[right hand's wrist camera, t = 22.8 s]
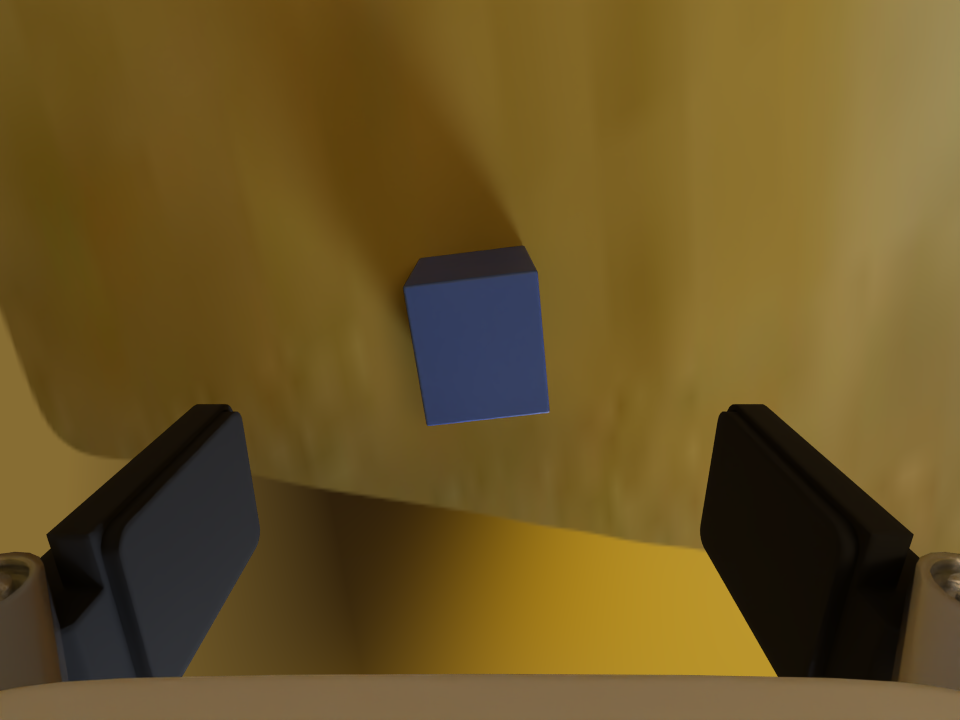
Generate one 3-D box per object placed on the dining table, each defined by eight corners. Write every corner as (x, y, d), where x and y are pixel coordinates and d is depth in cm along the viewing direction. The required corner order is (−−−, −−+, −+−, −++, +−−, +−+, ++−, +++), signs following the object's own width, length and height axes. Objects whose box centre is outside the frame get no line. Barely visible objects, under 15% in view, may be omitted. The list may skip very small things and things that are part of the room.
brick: (419, 258, 21) (402, 286, 16) (524, 245, 21) (537, 270, 16) (437, 372, 23) (426, 427, 18) (535, 361, 22) (550, 413, 18)
